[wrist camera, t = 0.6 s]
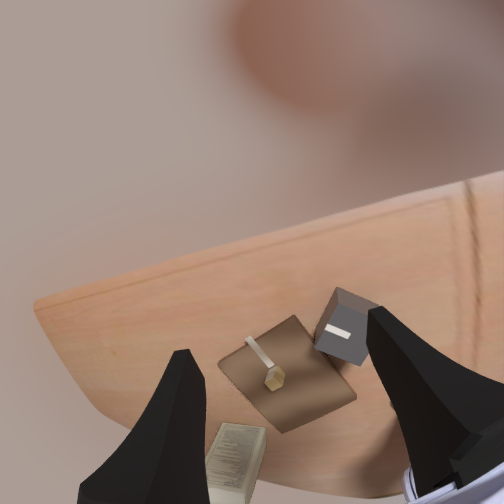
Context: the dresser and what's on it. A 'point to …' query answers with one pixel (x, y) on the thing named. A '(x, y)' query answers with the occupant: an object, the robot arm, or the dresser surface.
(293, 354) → the board
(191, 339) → the dresser surface
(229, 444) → the skincare box
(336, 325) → the mini file drawer
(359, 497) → the dresser surface
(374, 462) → the dresser surface
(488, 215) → the dresser surface
